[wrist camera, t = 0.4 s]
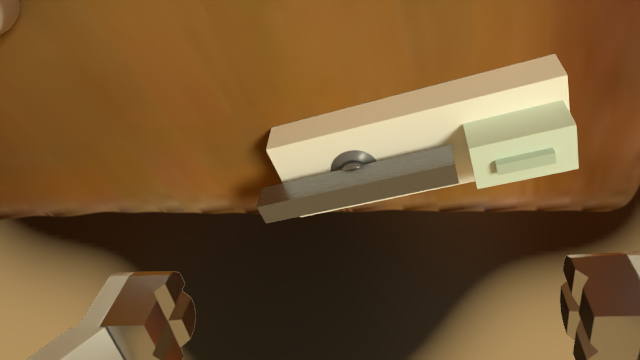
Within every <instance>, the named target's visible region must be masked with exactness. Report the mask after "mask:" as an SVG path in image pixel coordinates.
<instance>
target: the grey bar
mask: <svg viewBox="0 0 640 360" xmlns="http://www.w3.org/2000/svg"><path fill="white" fill-rule="evenodd" d="M458 183H459V180H458V175H457V170H456V165H455V161H454V156H453V152H452V148H451V145H447V146H443V147H438V148H434V149H430V150H425V151H421V152H417V153H412V154H408V155H403V156H399V157H395V158H390V159H386V160H381V161H377V162H373V163H368V164H365V163H363V162H361V161H356V160H353V161H349V162H346V163H345V164H344V165H343V166H342V167H341V170H338V171H333V172H329V173H325V174H320V175H316V176H311V177H307V178H303V179H298V180H294V181H290V182H285V183H281V184H276V185H272V186H268V187H263V188H261V192H260V196H259V200H258V204H257V209H258V210H259V212H260V214H261V215H262V217H263V219H264V221H265V222H266V223H270V222H275V221H280V220H285V219H289V218H294V217H299V216H304V215H309V214H314V213H318V212H323V211H328V210H333V209H338V208H342V207H347V206H352V205H357V204H362V203H367V202H371V201H376V200H381V199H386V198H391V197H395V196H400V195H405V194H410V193H415V192H419V191H424V190H429V189H434V188H439V187H443V186H448V185H453V184H458Z"/></svg>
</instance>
